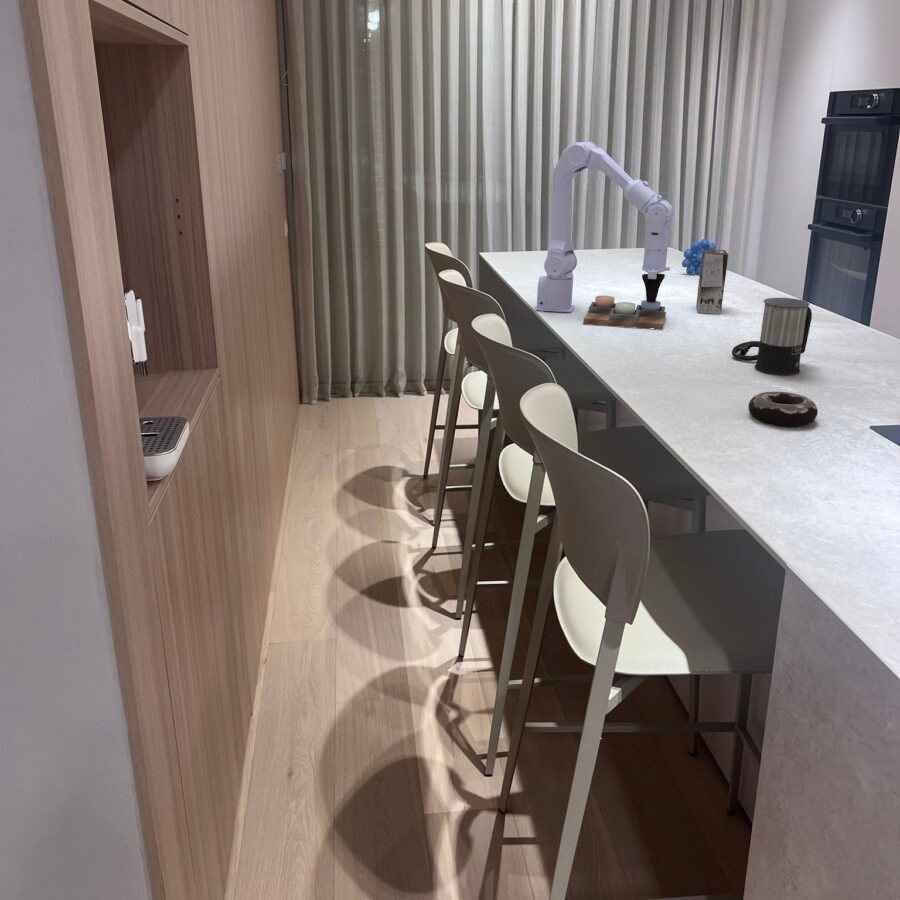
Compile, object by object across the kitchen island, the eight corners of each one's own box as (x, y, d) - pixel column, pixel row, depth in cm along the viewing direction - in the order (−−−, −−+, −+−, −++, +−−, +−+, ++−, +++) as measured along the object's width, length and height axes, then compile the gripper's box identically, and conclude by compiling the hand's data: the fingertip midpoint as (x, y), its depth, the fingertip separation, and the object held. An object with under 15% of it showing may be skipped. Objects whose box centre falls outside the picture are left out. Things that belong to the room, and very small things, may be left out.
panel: (583, 324, 229) (584, 312, 228) (590, 312, 243) (591, 301, 242) (662, 329, 224) (663, 318, 223) (665, 317, 238) (666, 306, 237)
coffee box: (721, 314, 242) (729, 254, 236) (697, 313, 243) (704, 253, 237) (719, 307, 250) (726, 249, 245) (695, 306, 252) (702, 248, 246)
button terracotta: (593, 307, 235) (594, 298, 235) (595, 303, 240) (596, 295, 239) (612, 308, 234) (613, 299, 233) (614, 305, 239) (615, 296, 238)
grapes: (709, 272, 305) (714, 236, 300) (717, 276, 298) (721, 239, 294) (676, 272, 304) (680, 236, 299) (683, 276, 297) (686, 239, 293)
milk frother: (793, 378, 185) (805, 308, 180) (718, 367, 193) (726, 298, 187) (808, 363, 196) (819, 296, 191) (736, 353, 204) (745, 288, 199)
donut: (799, 409, 166) (802, 388, 165) (826, 430, 156) (830, 408, 154) (738, 409, 166) (740, 388, 165) (761, 430, 155) (764, 408, 154)
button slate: (639, 312, 233) (640, 303, 232) (641, 308, 237) (641, 299, 236) (659, 313, 231) (660, 304, 231) (660, 309, 236) (661, 300, 235)
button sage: (614, 314, 228) (614, 305, 227) (615, 310, 232) (616, 301, 231) (633, 316, 226) (634, 306, 226) (635, 312, 231) (636, 302, 230)
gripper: (670, 254, 221) (665, 308, 226) (673, 246, 234) (667, 297, 239) (641, 253, 223) (637, 306, 228) (645, 245, 236) (641, 296, 241)
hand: (651, 302), depth 233 cm, fingers closed, pressing on button slate
